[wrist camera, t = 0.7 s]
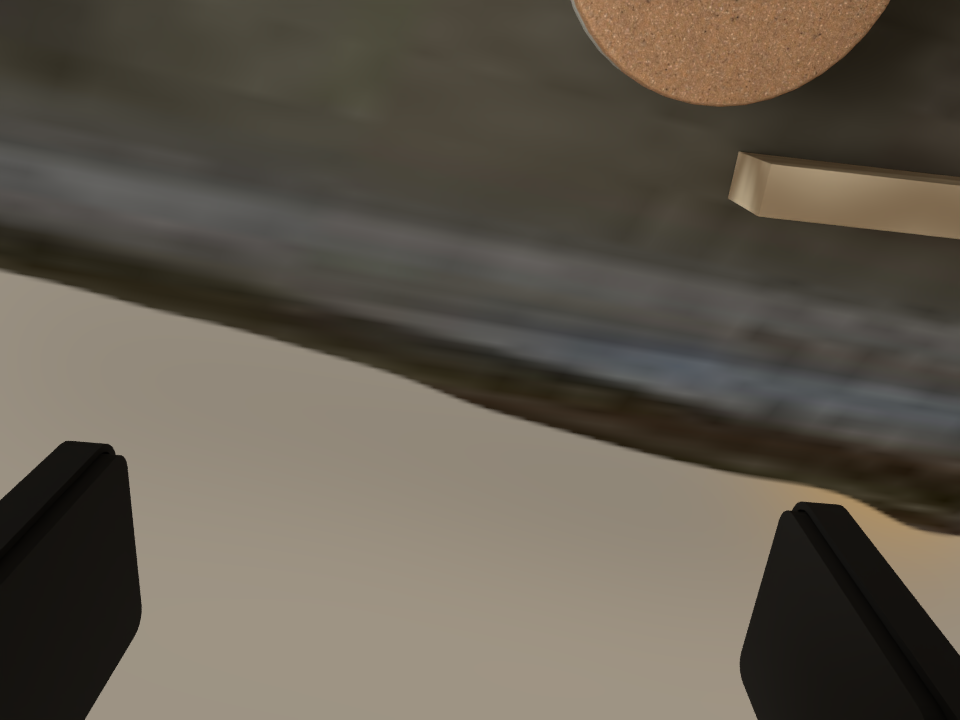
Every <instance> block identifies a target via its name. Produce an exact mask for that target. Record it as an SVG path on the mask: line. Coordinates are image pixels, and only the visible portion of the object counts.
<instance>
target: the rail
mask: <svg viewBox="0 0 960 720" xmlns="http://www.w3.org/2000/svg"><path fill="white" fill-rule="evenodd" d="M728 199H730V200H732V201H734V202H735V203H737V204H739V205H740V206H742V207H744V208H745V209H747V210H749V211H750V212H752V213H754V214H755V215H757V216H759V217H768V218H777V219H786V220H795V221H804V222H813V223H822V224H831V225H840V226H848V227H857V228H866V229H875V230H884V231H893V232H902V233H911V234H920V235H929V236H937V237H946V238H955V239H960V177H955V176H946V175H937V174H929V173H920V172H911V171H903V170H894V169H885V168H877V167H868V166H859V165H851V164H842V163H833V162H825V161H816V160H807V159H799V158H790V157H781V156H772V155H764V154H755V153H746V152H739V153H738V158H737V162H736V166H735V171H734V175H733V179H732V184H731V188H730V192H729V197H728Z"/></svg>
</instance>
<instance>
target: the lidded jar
mask: <svg viewBox="0 0 960 720" xmlns="http://www.w3.org/2000/svg"><path fill="white" fill-rule="evenodd" d="M889 2H890V0H571V3H572V6H573V9H574V11H575V13H576V15H577V17H578V19H579V21H580V23H581V25H582V27H583V29H584V31H585V32H586V34H587V35H588V36H589V38H590V39H591V40H592V42H593V43H594V45H595V46H596V47H597V49H598V50H599V51H600V52H601V53H602V54H603V55H604V56H605V57H606V58H607V59H608V60H609V61H610V62H611V63H612V64H613V65H614V66H615V67H616V68H618V69H619V70H621V71H622V72H623V73H625V74H626V75H628V76H629V77H631V78H632V79H633V80H635V81H636V82H638V83H639V84H641V85H642V86H644V87H646V88H648V89H650V90H652V91H654V92H656V93H659V94H661V95H663V96H665V97H668V98H672V99H675V100H679V101H683V102H686V103H690V104H696V105H706V106H717V107H723V106H737V105H747V104H751V103H756V102H760V101H764V100H769V99H772V98H775V97H777V96H780V95H782V94H785V93H787V92H790V91H792V90H795V89H797V88H799V87H801V86H802V85H804V84H806V83H808V82H809V81H811V80H813V79H815V78H816V77H818V76H820V75H821V74H823V73H824V72H825V71H827V70H828V69H829V68H831V67H832V66H833V65H834V64H836V63H837V62H838V61H840V60H841V59H842V58H843V57H845V56H846V55H847V54H848V53H849V52H850V51H851V50H852V49H853V48H854V46H855V45H856V44H857V43H858V42H859V41H860V40H861V39H862V38H863V37H864V36H865V35H866V34H867V33H868V31H869V30H870V29H871V28H872V26H873V25H874V24H875V22H876V21H877V20H878V18H879V17H880V16H881V14H882V13H883V12H884V10H885V9H886V7H887V5H888V4H889Z"/></svg>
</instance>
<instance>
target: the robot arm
mask: <svg viewBox="0 0 960 720" xmlns="http://www.w3.org/2000/svg"><path fill="white" fill-rule="evenodd" d="M141 607H142V605H141V596H140V586H139V576H138V566H137V556H136V546H135V537H134V527H133V518H132V507H131V497H130V488H129V477H128V467H127V462H126V460H125V458H124V457H123V456H122V455H115V451H114V449H113V447H112V446H111V445H109V444H102V443H89V442H77V441H65V442H64V443H62V444H60V445H59V446H58V447H57V448H56V449H55V450H54V451H53V452H52V453H51V454H50V455H48V457H46V458H45V459H44V460H43V461H42V462H41V463H40V464H39V465H38V466H37V467H36V468H35V469H33V470H32V471H31V472H30V473H29V474H28V475H27V476H26V477H25V478H24V479H23V480H22V481H21V482H19V483H18V484H17V485H16V486H15V487H14V488H13V489H12V490H11V491H10V492H9V493H8V494H7V495H5V496H4V497H3V498H2V499H1V500H0V720H85V718H86V716H87V715H88V713H89V711H90V710H91V708H92V706H93V705H94V703H95V701H96V700H97V698H98V696H99V695H100V693H101V691H102V690H103V688H104V686H105V685H106V683H107V681H108V680H109V678H110V676H111V674H112V673H113V671H114V670H115V668H116V666H117V665H118V663H119V661H120V660H121V658H122V656H123V655H124V653H125V651H126V650H127V648H128V646H129V645H130V643H131V641H132V640H133V638H134V636H135V634H136V632H137V630H138V627H139V624H140V619H141V612H142V611H141V610H142V609H141ZM740 673H741V678H742V681H743V684H744V686H745V689H746V692H747V694H748V696H749V699H750V701H751V704H752V707H753V709H754V712H755V714H756V717H757V719H758V720H960V655H959V654H958V653H957V651H956V650H955V649H954V648H953V646H952V645H951V644H950V643H949V641H948V640H947V639H946V637H945V636H944V635H943V634H942V632H941V631H940V630H939V628H938V627H937V626H936V625H935V623H934V622H933V621H932V620H931V618H930V617H929V615H928V614H927V613H926V612H925V610H924V609H923V608H922V607H921V605H920V604H919V603H918V601H917V600H916V599H915V597H914V596H913V595H912V594H911V592H910V591H909V590H908V588H907V587H906V586H905V585H904V583H903V582H902V581H901V579H900V578H899V577H898V575H897V574H896V573H895V572H894V570H893V569H892V568H891V566H890V565H889V564H888V563H887V561H886V560H885V559H884V557H883V556H882V555H881V554H880V552H879V551H878V550H877V548H876V547H875V546H874V545H873V543H872V542H871V541H870V539H869V538H868V537H867V536H866V534H865V533H864V532H863V530H862V529H861V528H860V527H859V525H858V524H857V523H856V521H855V520H854V519H853V517H852V516H851V515H850V514H849V512H848V511H847V510H846V509H845V508H844V507H843V506H841V505H836V504H824V503H811V502H799V503H797V504H796V505H795V507H794V508H793V510H792V511H785V512H783V513H782V515H781V517H780V519H779V522H778V526H777V529H776V533H775V537H774V540H773V544H772V547H771V550H770V554H769V557H768V561H767V565H766V568H765V571H764V575H763V578H762V582H761V585H760V589H759V592H758V596H757V599H756V603H755V606H754V610H753V613H752V617H751V620H750V624H749V627H748V630H747V634H746V638H745V641H744V645H743V648H742V651H741V656H740Z"/></svg>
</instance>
